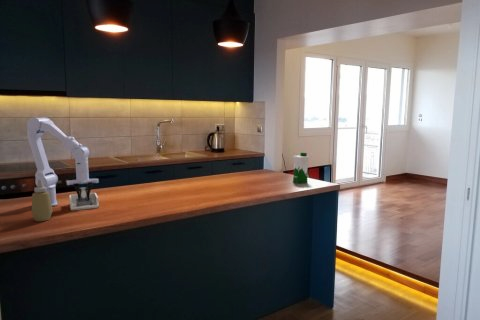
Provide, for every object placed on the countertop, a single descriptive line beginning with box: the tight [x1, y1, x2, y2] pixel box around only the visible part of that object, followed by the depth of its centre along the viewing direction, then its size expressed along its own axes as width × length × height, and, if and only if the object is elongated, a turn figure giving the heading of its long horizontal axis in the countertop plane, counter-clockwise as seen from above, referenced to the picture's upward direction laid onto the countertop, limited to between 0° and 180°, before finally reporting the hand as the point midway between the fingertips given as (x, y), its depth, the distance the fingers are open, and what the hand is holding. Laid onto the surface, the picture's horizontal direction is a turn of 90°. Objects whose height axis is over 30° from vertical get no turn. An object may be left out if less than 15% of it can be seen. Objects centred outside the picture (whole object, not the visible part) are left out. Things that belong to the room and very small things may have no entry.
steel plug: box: [79, 187, 88, 201], centre depth 182 cm, size 4×4×7 cm
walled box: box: [68, 192, 100, 212], centre depth 183 cm, size 13×13×5 cm
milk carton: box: [292, 152, 310, 185], centre depth 245 cm, size 9×9×20 cm
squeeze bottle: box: [31, 179, 53, 222], centre depth 159 cm, size 8×8×18 cm
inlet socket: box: [76, 198, 92, 207], centre depth 183 cm, size 7×7×2 cm
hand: (83, 197), depth 183 cm, fingers closed on steel plug, 4 cm apart
